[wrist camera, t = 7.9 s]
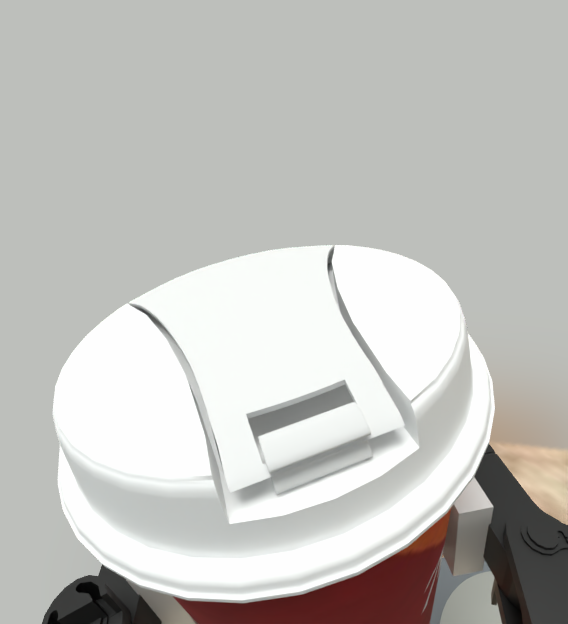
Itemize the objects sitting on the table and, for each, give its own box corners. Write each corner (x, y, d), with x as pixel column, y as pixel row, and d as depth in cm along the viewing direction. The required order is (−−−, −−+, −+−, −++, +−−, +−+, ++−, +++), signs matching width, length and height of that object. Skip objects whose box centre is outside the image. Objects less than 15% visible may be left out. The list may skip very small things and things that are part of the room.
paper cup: (512, 736, 10) (691, 353, 3) (263, 882, 9) (-191, 714, 2) (376, 499, 17) (350, 217, 10) (225, 563, 16) (84, 289, 9)
